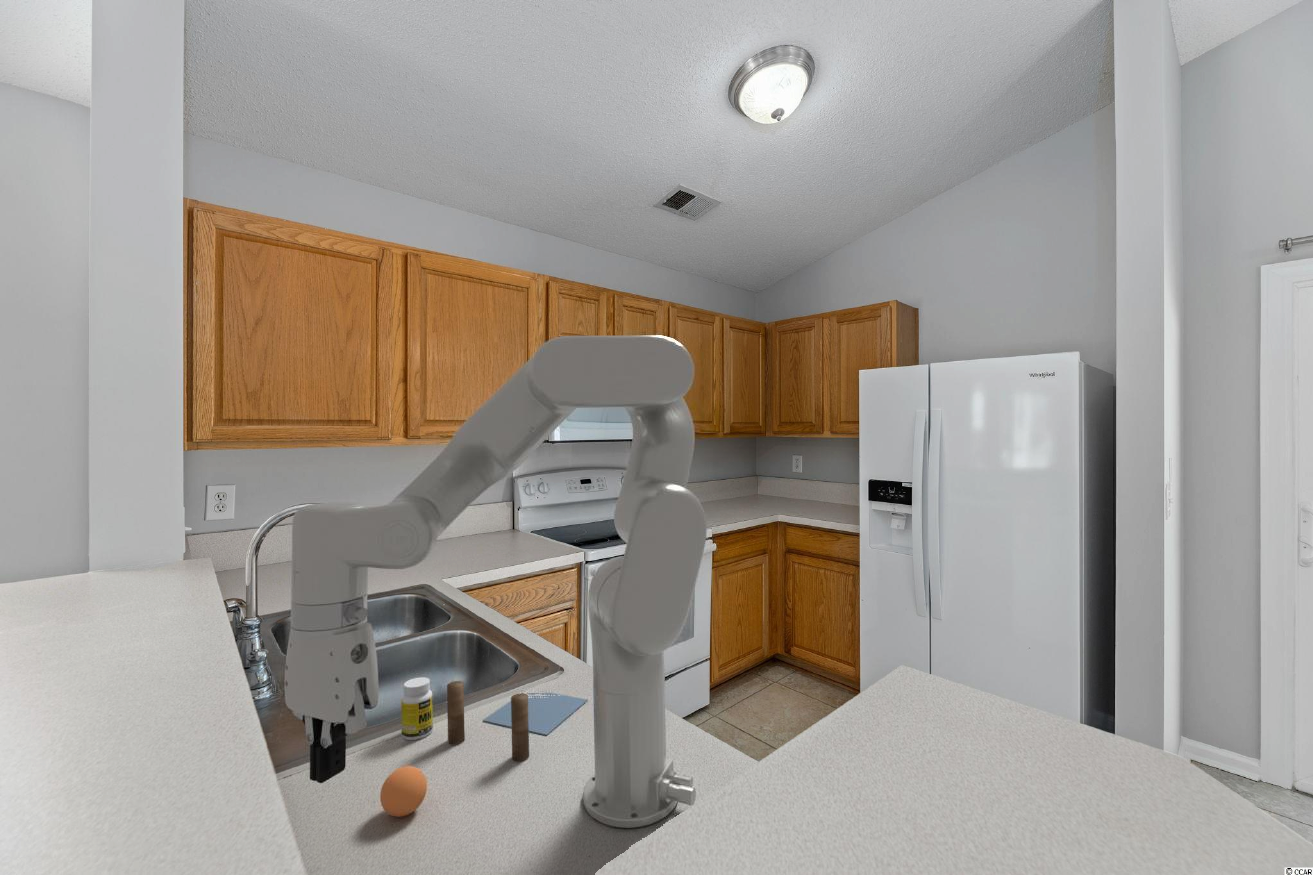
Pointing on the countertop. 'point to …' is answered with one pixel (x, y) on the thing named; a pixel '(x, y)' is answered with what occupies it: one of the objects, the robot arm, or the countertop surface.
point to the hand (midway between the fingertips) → (327, 774)
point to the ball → (403, 791)
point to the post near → (520, 727)
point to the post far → (455, 712)
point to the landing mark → (541, 712)
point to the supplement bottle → (417, 709)
